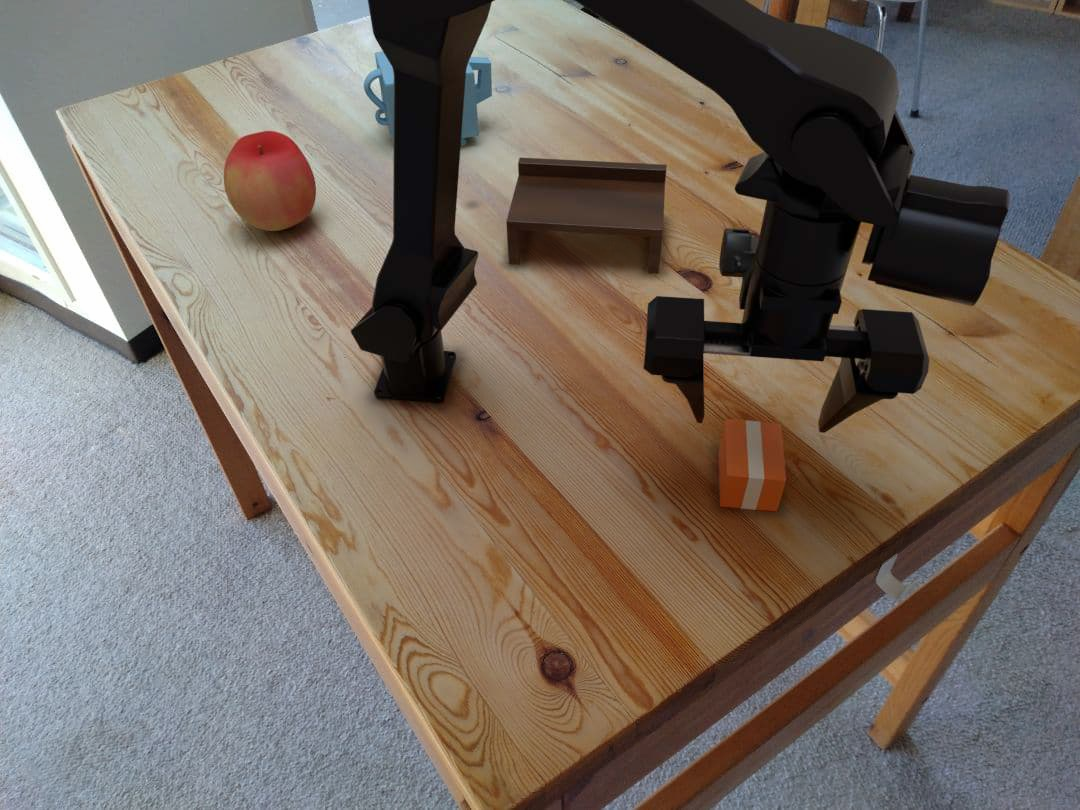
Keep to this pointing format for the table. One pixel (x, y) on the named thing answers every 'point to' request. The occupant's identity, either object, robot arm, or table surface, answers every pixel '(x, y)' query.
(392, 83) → the teapot
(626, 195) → the shelf
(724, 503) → the package
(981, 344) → the table surface
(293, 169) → the apple
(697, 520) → the table surface
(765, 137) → the robot arm
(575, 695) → the table surface
